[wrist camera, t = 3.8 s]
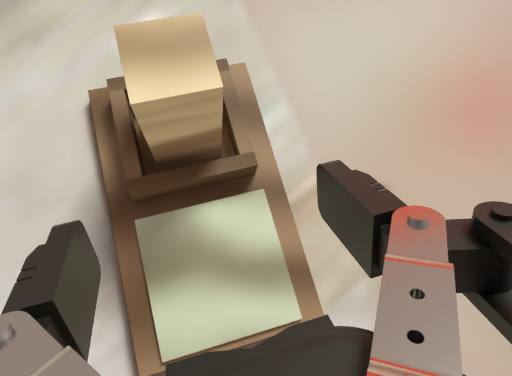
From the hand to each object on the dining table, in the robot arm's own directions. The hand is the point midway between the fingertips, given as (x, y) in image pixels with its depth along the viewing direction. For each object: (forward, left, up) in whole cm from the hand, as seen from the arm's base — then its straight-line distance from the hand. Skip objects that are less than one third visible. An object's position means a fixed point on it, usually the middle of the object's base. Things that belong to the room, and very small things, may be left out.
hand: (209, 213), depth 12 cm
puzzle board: (+4, +2, -13) cm, 14 cm away
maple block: (+8, +5, -12) cm, 15 cm away
